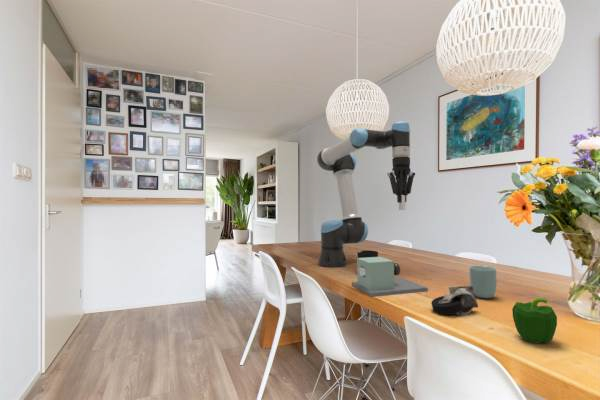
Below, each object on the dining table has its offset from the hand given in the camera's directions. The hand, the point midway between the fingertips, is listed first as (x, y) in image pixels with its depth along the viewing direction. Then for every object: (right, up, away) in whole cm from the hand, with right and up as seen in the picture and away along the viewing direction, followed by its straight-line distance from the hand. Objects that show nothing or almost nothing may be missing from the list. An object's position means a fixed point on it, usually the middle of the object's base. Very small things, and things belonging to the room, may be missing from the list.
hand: (402, 209), depth 138 cm
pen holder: (-14, -30, +6) cm, 34 cm away
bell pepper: (+10, -29, -65) cm, 72 cm away
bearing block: (-12, -29, -19) cm, 37 cm away
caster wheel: (0, -29, -46) cm, 55 cm away
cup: (+17, -29, -32) cm, 47 cm away
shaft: (-15, -25, -20) cm, 35 cm away
